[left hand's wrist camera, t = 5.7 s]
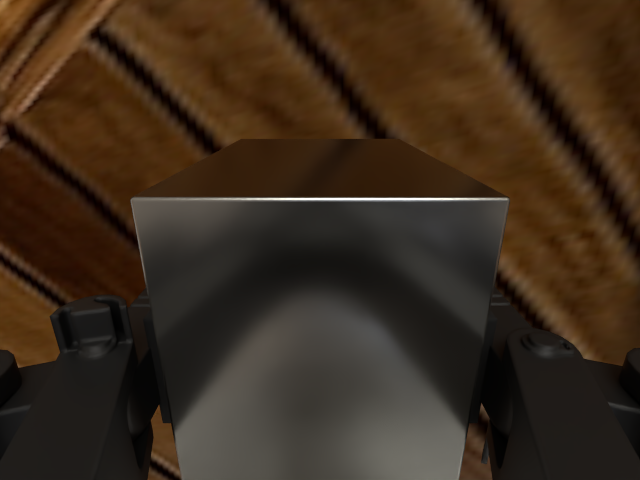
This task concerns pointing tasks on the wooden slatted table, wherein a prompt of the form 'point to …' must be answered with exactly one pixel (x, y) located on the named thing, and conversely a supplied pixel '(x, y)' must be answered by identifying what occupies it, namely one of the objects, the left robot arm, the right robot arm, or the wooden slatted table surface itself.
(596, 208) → the wooden slatted table surface
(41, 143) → the wooden slatted table surface
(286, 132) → the wooden slatted table surface
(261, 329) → the bar
